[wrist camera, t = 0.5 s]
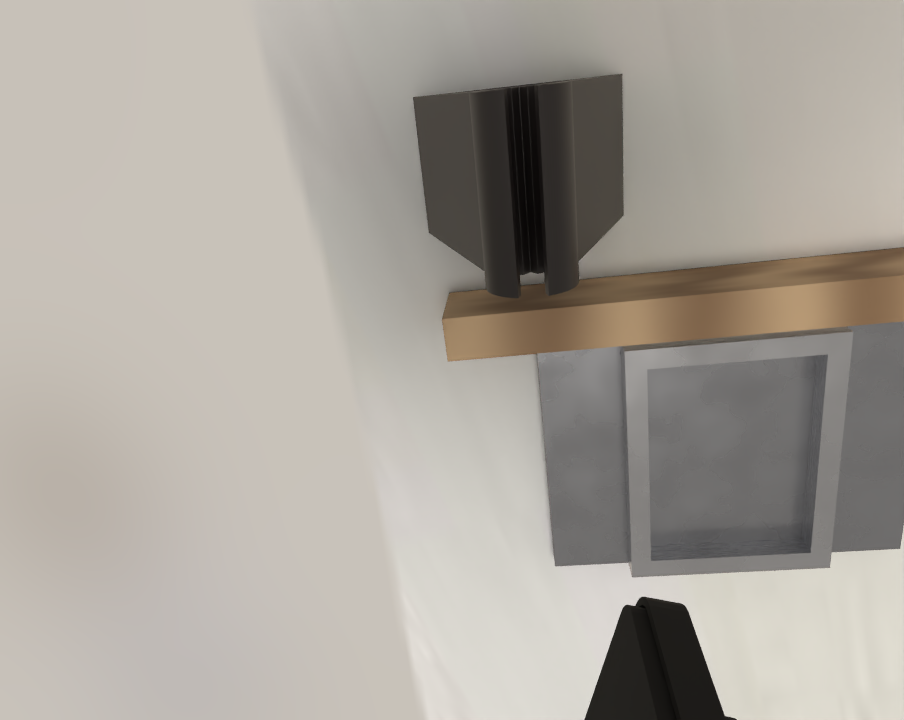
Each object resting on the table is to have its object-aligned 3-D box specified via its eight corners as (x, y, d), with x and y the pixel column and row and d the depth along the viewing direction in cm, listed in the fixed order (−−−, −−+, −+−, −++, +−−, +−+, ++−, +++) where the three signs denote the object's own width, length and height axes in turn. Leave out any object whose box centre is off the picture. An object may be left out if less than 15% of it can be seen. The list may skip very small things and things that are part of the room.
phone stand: (621, 74, 29) (692, 68, 18) (622, 214, 31) (685, 287, 20) (414, 95, 30) (359, 102, 19) (429, 230, 32) (387, 308, 21)
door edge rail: (930, 244, 31) (988, 266, 27) (924, 287, 31) (980, 314, 28) (449, 292, 33) (442, 319, 29) (454, 331, 34) (447, 361, 30)
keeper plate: (921, 307, 32) (950, 323, 30) (890, 536, 36) (912, 563, 34) (536, 342, 34) (537, 359, 32) (554, 554, 39) (556, 580, 36)
